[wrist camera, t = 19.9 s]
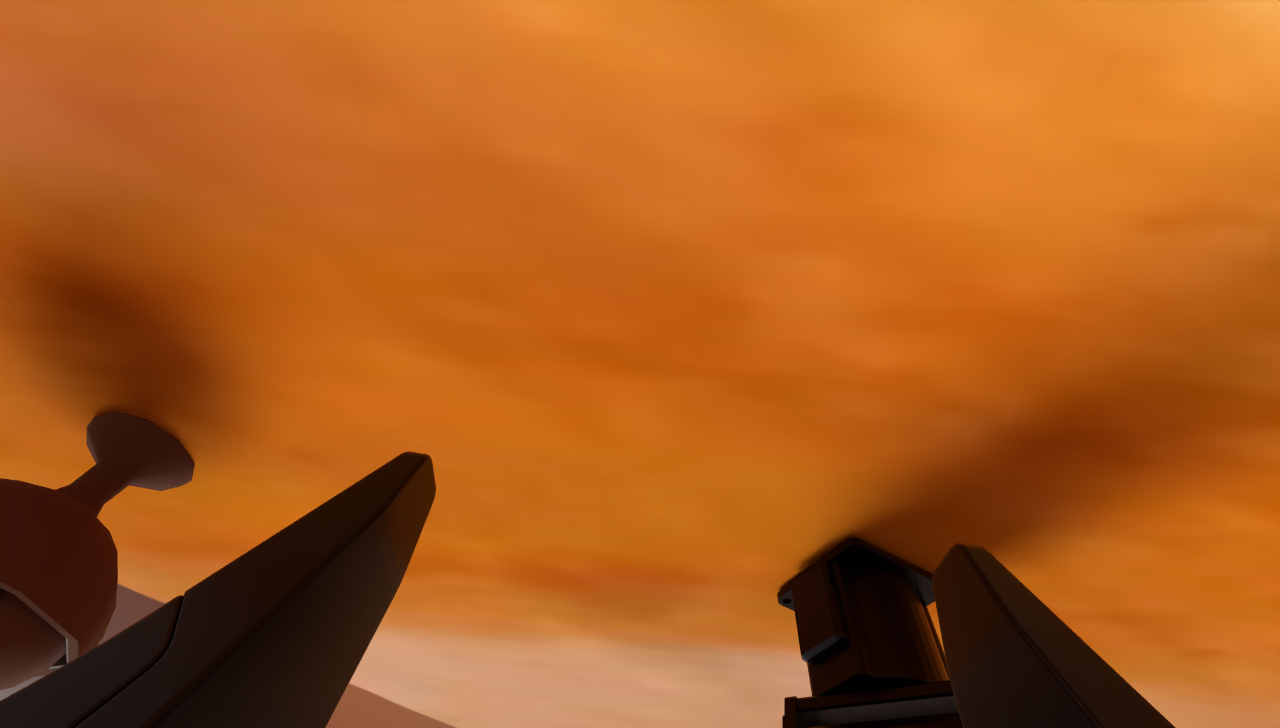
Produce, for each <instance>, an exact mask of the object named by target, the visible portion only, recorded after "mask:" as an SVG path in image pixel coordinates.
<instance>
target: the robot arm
mask: <svg viewBox="0 0 1280 728" xmlns="http://www.w3.org/2000/svg"><path fill="white" fill-rule="evenodd" d="M435 493H436V485H435V478H434V471H433V464H432V459H431V457H430V456H429V455H427V454H422V453H416V452H405V453H402V454H400V455H399V456H397V457H396V458H394V459H393V460H391V461H389V462H388V463H386V464H385V465H383V466H382V467H380V468H378V469H377V470H375V471H374V472H372V473H371V474H369V475H367V476H366V477H364V478H363V479H361V480H360V481H358V482H356V483H355V484H353V485H352V486H350V487H349V488H347V489H345V490H344V491H342V492H341V493H339V494H338V495H336V496H334V497H333V498H331V499H330V500H328V501H327V502H325V503H323V504H322V505H320V506H319V507H317V508H316V509H314V510H313V511H311V512H309V513H308V514H306V515H305V516H303V517H302V518H300V519H298V520H297V521H295V522H294V523H292V524H291V525H289V526H287V527H286V528H284V529H283V530H281V531H280V532H278V533H276V534H275V535H273V536H272V537H270V538H269V539H267V540H265V541H264V542H262V543H261V544H259V545H258V546H256V547H254V548H253V549H251V550H250V551H248V552H247V553H245V554H243V555H242V556H240V557H239V558H237V559H236V560H234V561H232V562H231V563H229V564H228V565H226V566H225V567H223V568H221V569H220V570H218V571H217V572H215V573H214V574H212V575H211V576H209V577H207V578H206V579H204V580H203V581H201V582H200V583H198V584H196V585H195V586H193V587H192V588H190V589H189V590H187V591H186V592H185V594H184V596H182V595H180V596H177V597H176V598H174V599H173V600H171V601H169V602H168V603H166V604H165V605H163V606H162V607H160V608H158V609H157V610H155V611H154V612H152V613H151V614H149V615H147V616H146V617H144V618H142V619H141V620H139V621H138V622H136V623H134V624H133V625H131V626H129V627H128V628H126V629H125V630H123V631H121V632H120V633H118V634H116V635H115V636H113V637H112V638H110V639H108V640H107V641H105V642H103V643H102V644H100V645H98V646H97V647H95V648H93V649H91V650H90V651H88V652H86V653H84V654H83V655H81V656H79V657H78V658H76V659H74V660H72V661H71V662H69V663H67V664H65V665H64V666H62V667H60V668H58V669H57V670H55V671H53V672H51V673H50V674H48V675H46V676H45V677H43V678H41V679H39V680H37V681H36V682H34V683H32V684H30V685H28V686H27V687H25V688H23V689H21V690H19V691H18V692H16V693H14V694H12V695H10V696H9V697H7V698H5V699H3V700H2V701H0V728H325V727H326V726H327V724H328V722H329V720H330V718H331V716H332V714H333V712H334V710H335V708H336V706H337V705H338V703H339V701H340V699H341V697H342V695H343V693H344V691H345V689H346V687H347V685H348V684H349V682H350V680H351V678H352V676H353V674H354V672H355V670H356V668H357V666H358V665H359V663H360V661H361V659H362V657H363V655H364V653H365V651H366V649H367V647H368V645H369V644H370V642H371V640H372V638H373V636H374V634H375V632H376V630H377V628H378V626H379V624H380V623H381V621H382V619H383V617H384V615H385V613H386V611H387V609H388V607H389V605H390V603H391V602H392V600H393V598H394V596H395V594H396V592H397V590H398V588H399V586H400V584H401V581H402V579H403V577H404V574H405V572H406V570H407V567H408V565H409V562H410V559H411V557H412V554H413V552H414V549H415V547H416V544H417V542H418V539H419V537H420V534H421V532H422V529H423V526H424V524H425V521H426V519H427V516H428V514H429V511H430V509H431V506H432V504H433V501H434V498H435ZM777 597H778V602H779V604H781V605H782V606H784V607H787V608H789V609H791V610H793V611H795V617H796V623H797V630H798V637H799V644H800V651H801V657H802V660H804V661H805V662H807V665H808V672H809V678H810V685H811V691H812V697H804V698H797V697H796V696H794V697H786V698H785V715H784V716H783V728H1175V727H1174V726H1173V725H1172V724H1171V723H1170V722H1169V721H1168V720H1167V719H1166V718H1165V717H1164V716H1163V715H1161V714H1160V713H1159V712H1158V711H1157V710H1156V709H1155V708H1154V707H1153V706H1152V705H1151V704H1150V703H1149V702H1148V701H1147V700H1146V699H1144V698H1143V697H1142V696H1141V695H1140V694H1139V693H1138V692H1137V691H1136V690H1135V689H1134V688H1133V687H1132V686H1131V685H1130V684H1129V683H1127V682H1126V681H1125V680H1124V679H1123V678H1122V677H1121V676H1120V675H1119V674H1118V673H1117V672H1116V671H1115V670H1114V669H1113V668H1112V667H1110V666H1109V665H1108V664H1107V663H1106V662H1105V661H1104V660H1103V659H1102V658H1101V657H1100V656H1099V655H1098V654H1097V653H1096V652H1095V651H1093V650H1092V649H1091V648H1090V647H1089V646H1088V645H1087V644H1086V643H1085V642H1084V641H1083V640H1082V639H1081V638H1080V637H1079V636H1078V635H1076V634H1075V633H1074V632H1073V631H1072V630H1071V629H1070V628H1069V627H1068V626H1067V625H1066V624H1065V623H1064V622H1063V621H1062V620H1061V619H1059V618H1058V617H1057V616H1056V615H1055V614H1054V613H1053V612H1052V611H1051V610H1050V609H1049V608H1048V607H1047V606H1046V605H1045V604H1044V603H1042V602H1041V601H1040V600H1039V599H1038V598H1037V597H1036V596H1035V595H1034V594H1033V593H1032V592H1031V591H1030V590H1029V589H1028V588H1026V587H1025V586H1024V585H1023V584H1022V583H1021V582H1020V581H1019V580H1018V579H1017V578H1016V577H1015V576H1014V575H1013V574H1012V573H1011V572H1009V571H1008V570H1007V569H1006V568H1005V567H1004V566H1003V565H1002V564H1001V563H1000V562H999V561H998V560H997V559H996V558H995V557H994V556H992V555H991V554H990V553H989V552H988V551H987V550H986V549H984V548H982V547H980V546H975V545H969V544H963V543H957V544H955V545H953V546H952V547H951V548H950V550H949V551H948V553H947V554H946V555H945V557H944V558H943V560H942V561H941V562H940V564H939V565H938V567H937V568H936V569H935V571H934V574H933V575H931V574H929V573H927V572H925V571H923V570H921V569H919V568H917V567H915V566H913V565H911V564H909V563H907V562H905V561H903V560H901V559H899V558H897V557H895V556H893V555H891V554H889V553H887V552H885V551H883V550H881V549H879V548H877V547H875V546H873V545H871V544H869V543H867V542H865V541H863V540H861V539H858V538H851V539H848V540H846V541H844V542H843V543H842V544H840V545H839V546H838V547H837V548H835V549H834V550H833V551H831V552H830V553H829V554H827V555H826V556H825V557H823V558H822V559H821V560H820V561H818V562H817V563H816V564H814V565H813V566H812V567H810V568H809V569H808V570H806V571H805V572H804V573H802V574H801V575H800V576H799V577H797V578H796V579H795V580H793V581H792V582H791V583H789V584H788V585H787V586H785V587H784V588H783V589H781V590H780V591H779V592H778V593H777ZM934 601H935V602H936V607H937V613H938V619H939V624H940V630H941V635H942V641H943V647H944V652H945V654H944V652H943V649H942V646H941V644H940V641H939V638H938V635H937V633H936V630H935V627H934V625H933V622H932V619H931V616H930V614H929V611H928V608H927V606H928V605H929V604H931V603H933V602H934Z"/></svg>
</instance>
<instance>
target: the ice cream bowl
mask: <svg viewBox="0 0 1280 728" xmlns="http://www.w3.org/2000/svg"><path fill="white" fill-rule="evenodd" d="M87 446H88V448H89V450H90V452H91V454H92V456H93V458H94V460H95V462H96V465H95V466H93V467H92V468H91V469H89V470H88V471H87V472H86V473H84V474H83V475H82V476H80V477H79V478H78V479H77V480H75V481H74V482H73V483H71V484H70V485H68V486H65V487H62V488H59V489H56V490H54V489H50V488H46V487H42V486H38V485H34V484H30V483H26V482H22V481H17V480H9V479H1V478H0V690H3V689H7V688H11V687H14V686H16V685H18V684H20V683H22V682H24V681H26V680H28V679H30V678H32V677H38V676H46V675H48V674H50V673H51V672H53V671H55V670H57V669H58V668H60V667H62V666H64V665H65V664H67V663H69V662H71V661H72V660H74V659H76V658H78V657H79V656H81V655H83V654H84V653H86V652H88V651H90V650H91V649H93V648H95V647H96V646H97V645H98V643H99V642H100V641H101V639H102V638H103V636H104V634H105V631H106V629H107V626H108V624H109V622H110V619H111V617H112V614H113V612H114V610H115V607H116V594H117V581H118V567H117V549H116V547H115V544H114V541H113V539H112V536H111V534H110V532H109V530H108V529H107V528H106V527H105V526H104V525H103V524H102V523H101V522H100V521H99V520H98V518H97V516H98V514H99V512H100V510H101V508H102V507H103V505H104V504H105V503H106V502H108V501H109V500H110V499H111V498H113V497H114V496H115V495H117V494H118V493H119V492H121V491H122V490H123V489H125V488H126V487H127V486H129V485H131V486H136V487H142V488H148V489H153V490H159V491H163V490H167V489H171V488H175V487H179V486H182V485H184V484H186V483H188V482H190V481H191V479H192V474H193V469H194V463H193V461H192V460H191V458H190V457H189V455H188V454H187V453H186V451H185V450H184V448H183V447H182V445H181V444H180V443H179V441H178V440H176V439H175V438H173V437H172V436H170V435H169V434H167V433H166V432H164V431H163V430H161V429H160V428H158V427H157V426H155V425H154V424H152V423H151V422H149V421H148V420H145V419H141V418H137V417H133V416H129V415H126V414H122V413H118V412H112V413H108V414H105V415H102V416H99V417H96V418H94V419H93V420H92V421H91V423H90V424H89V425H88V426H87Z"/></svg>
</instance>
